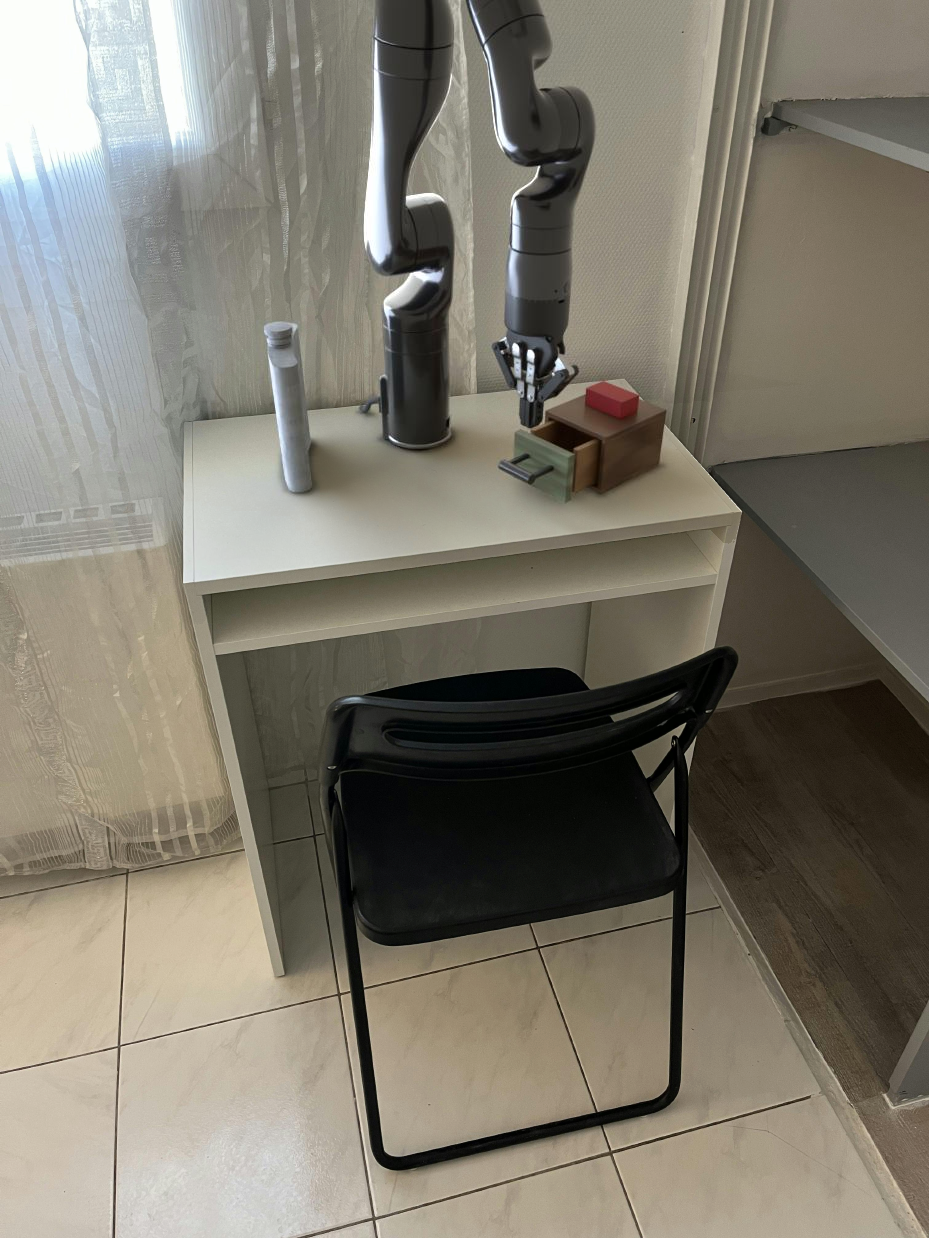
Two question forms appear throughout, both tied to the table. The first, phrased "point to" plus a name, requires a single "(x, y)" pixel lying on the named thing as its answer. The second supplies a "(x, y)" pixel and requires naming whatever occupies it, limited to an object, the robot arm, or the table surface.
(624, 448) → the cabinet
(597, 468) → the drawer
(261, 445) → the table surface
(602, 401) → the red block
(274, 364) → the hip flask
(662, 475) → the table surface
